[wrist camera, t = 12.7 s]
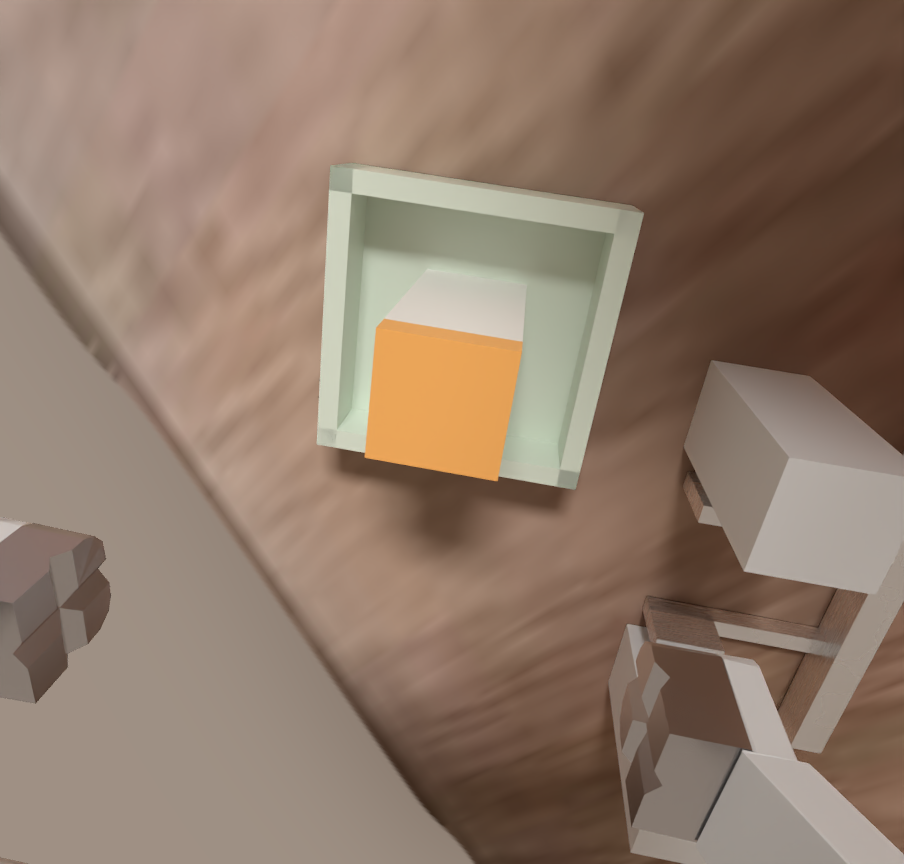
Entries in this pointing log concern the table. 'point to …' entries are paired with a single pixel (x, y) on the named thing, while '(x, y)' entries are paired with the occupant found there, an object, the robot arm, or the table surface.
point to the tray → (487, 256)
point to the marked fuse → (447, 374)
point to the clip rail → (791, 639)
